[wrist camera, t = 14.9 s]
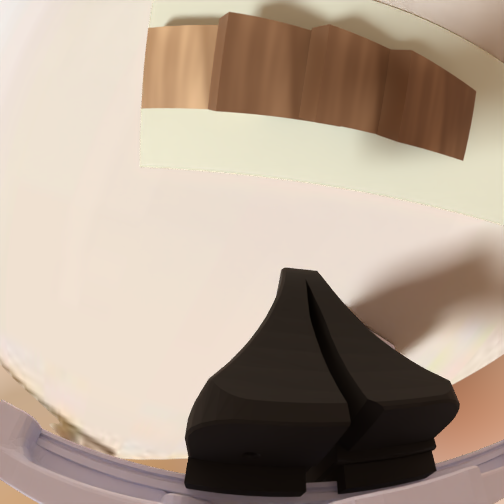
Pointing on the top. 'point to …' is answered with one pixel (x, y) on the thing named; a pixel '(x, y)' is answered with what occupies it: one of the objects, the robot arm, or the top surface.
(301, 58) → the domino
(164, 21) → the sage mat
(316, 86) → the domino
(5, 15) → the top surface
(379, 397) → the robot arm
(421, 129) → the domino
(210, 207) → the top surface
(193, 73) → the domino
